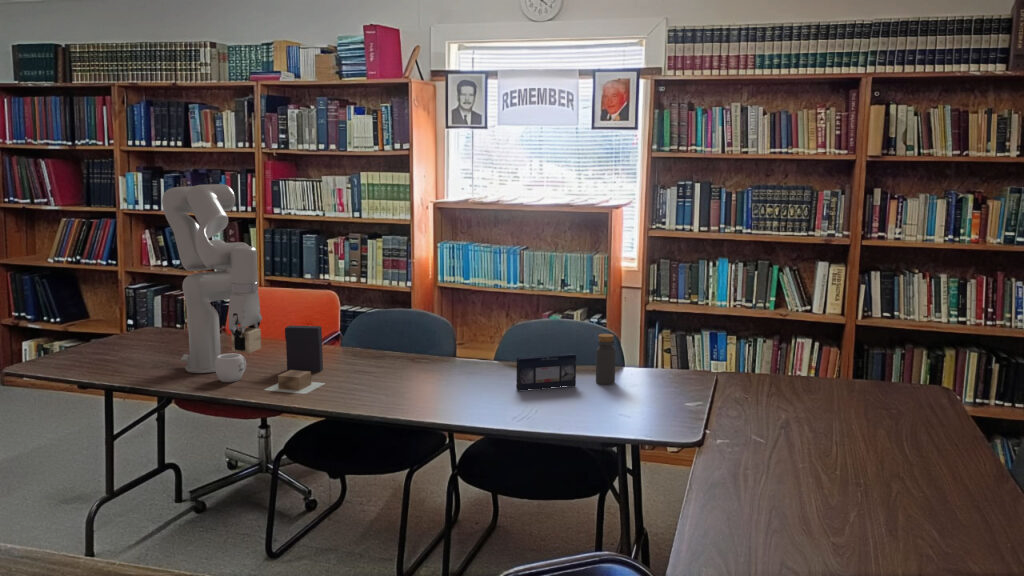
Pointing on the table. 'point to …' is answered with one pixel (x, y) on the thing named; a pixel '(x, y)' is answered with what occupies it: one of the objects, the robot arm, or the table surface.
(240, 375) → the mug
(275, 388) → the board
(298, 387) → the walnut block
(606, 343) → the bottle
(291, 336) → the black upright slab
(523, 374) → the vhs cassette tape
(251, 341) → the maple cube
